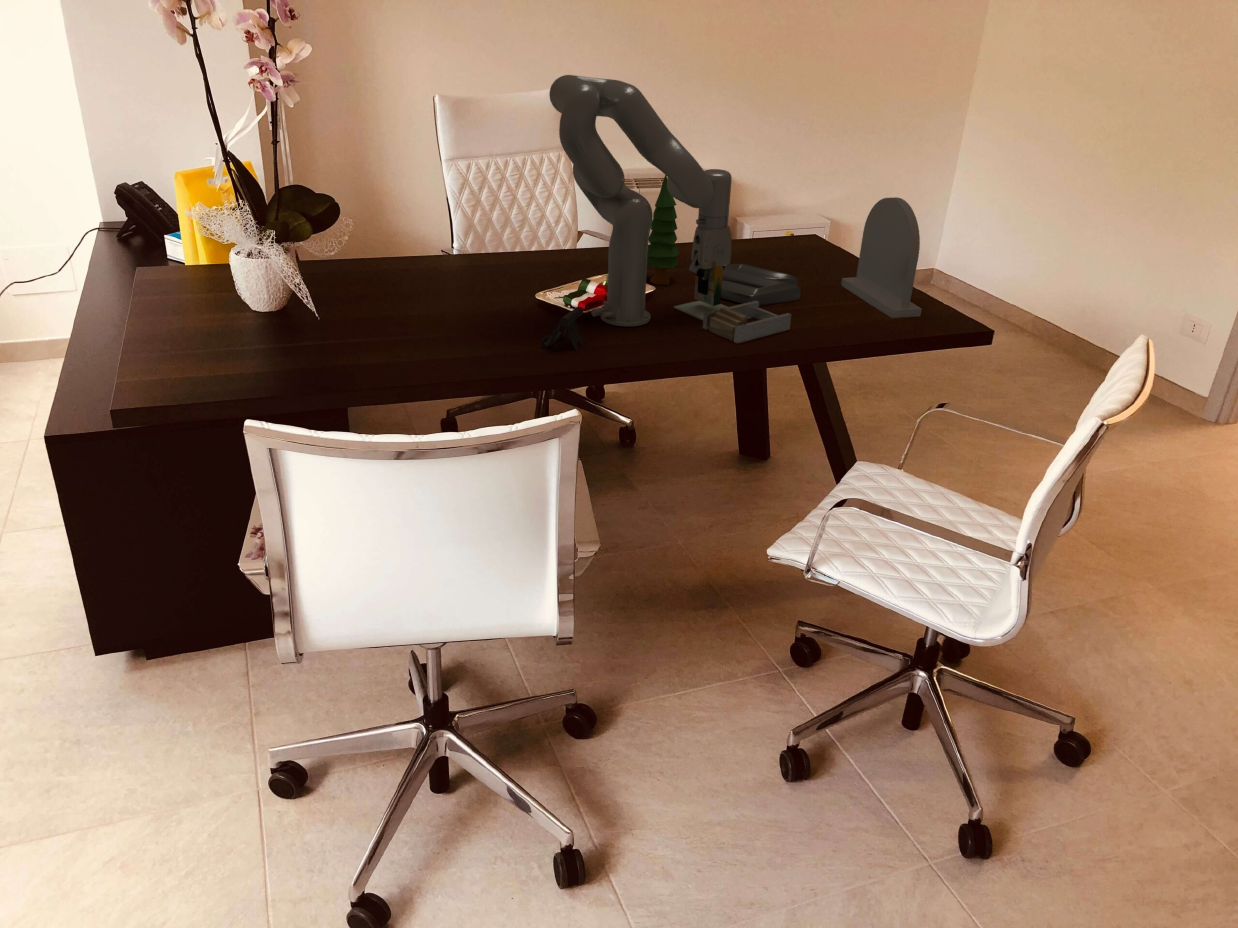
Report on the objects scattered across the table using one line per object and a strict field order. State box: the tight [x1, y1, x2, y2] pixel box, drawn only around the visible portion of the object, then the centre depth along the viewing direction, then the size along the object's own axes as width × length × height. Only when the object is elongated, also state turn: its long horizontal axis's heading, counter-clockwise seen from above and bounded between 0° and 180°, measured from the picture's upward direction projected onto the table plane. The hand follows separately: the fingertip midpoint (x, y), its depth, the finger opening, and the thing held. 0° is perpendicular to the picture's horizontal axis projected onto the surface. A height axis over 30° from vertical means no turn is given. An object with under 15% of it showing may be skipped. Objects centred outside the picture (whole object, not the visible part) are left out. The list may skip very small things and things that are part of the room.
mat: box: [673, 300, 728, 321], centre depth 252 cm, size 12×12×1 cm
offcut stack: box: [708, 307, 748, 342], centre depth 236 cm, size 4×8×6 cm, turn 38°
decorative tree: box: [647, 174, 680, 285], centre depth 266 cm, size 10×9×30 cm
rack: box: [702, 301, 792, 344], centre depth 240 cm, size 18×12×4 cm
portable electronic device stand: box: [540, 306, 584, 351], centre depth 225 cm, size 9×8×8 cm
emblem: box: [721, 263, 801, 307], centre depth 267 cm, size 28×5×28 cm
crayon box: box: [693, 262, 723, 306], centre depth 248 cm, size 7×3×12 cm, turn 38°
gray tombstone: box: [840, 196, 922, 319], centre depth 258 cm, size 28×9×28 cm, turn 17°
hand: (707, 291), depth 250 cm, fingers closed on crayon box, 3 cm apart
